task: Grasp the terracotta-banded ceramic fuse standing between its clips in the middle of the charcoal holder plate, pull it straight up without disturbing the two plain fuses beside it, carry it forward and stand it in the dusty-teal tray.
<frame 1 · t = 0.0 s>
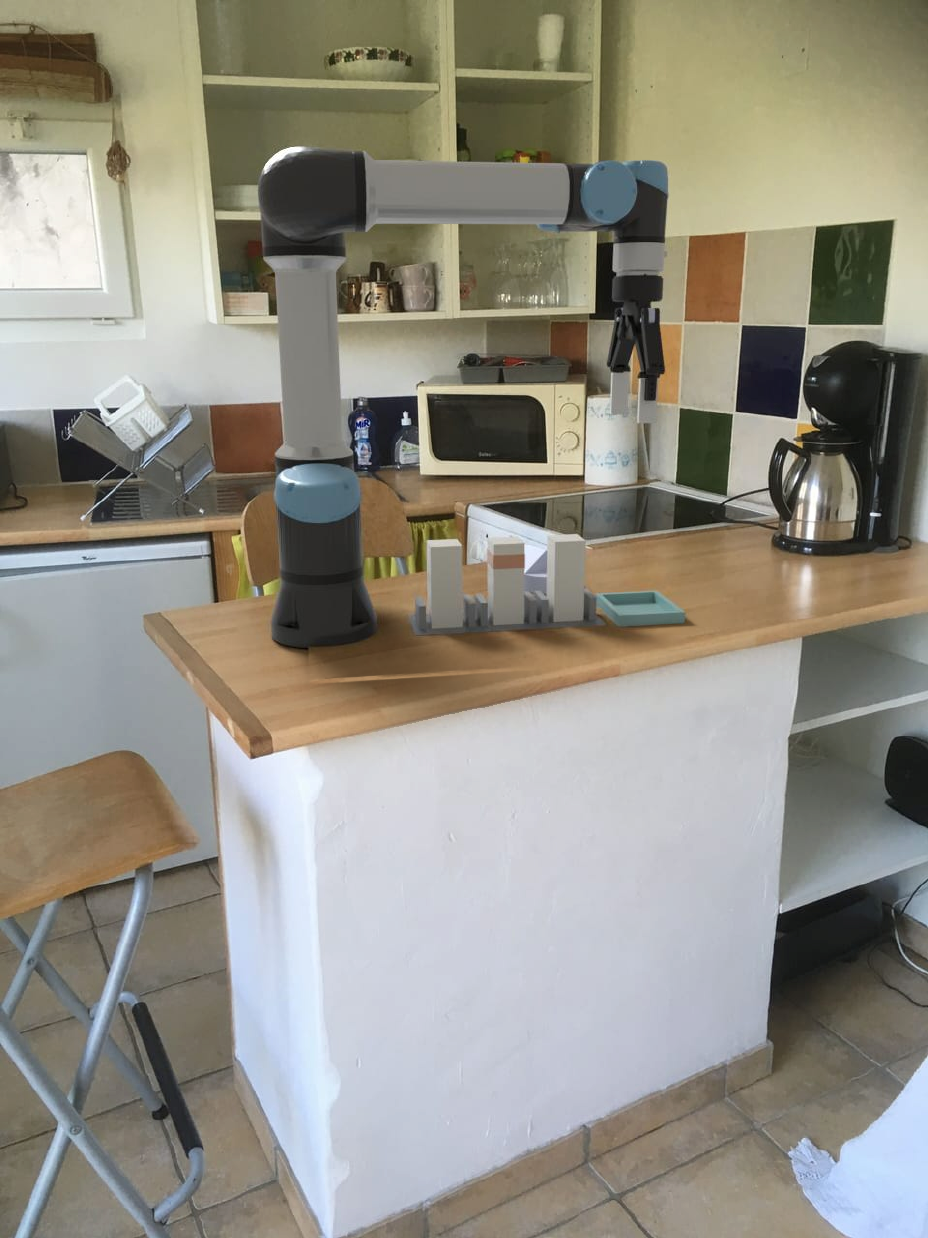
hand: (631, 418, 158), 28 cm above the countertop, fingers open, 13 cm apart
holder: (505, 623, 150), on the countertop
wedge on round base: (537, 588, 170), on the countertop
tray: (638, 615, 154), on the countertop
fuse C: (564, 616, 152), resting on holder
fuse A: (445, 623, 149), resting on holder
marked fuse: (505, 619, 150), resting on holder
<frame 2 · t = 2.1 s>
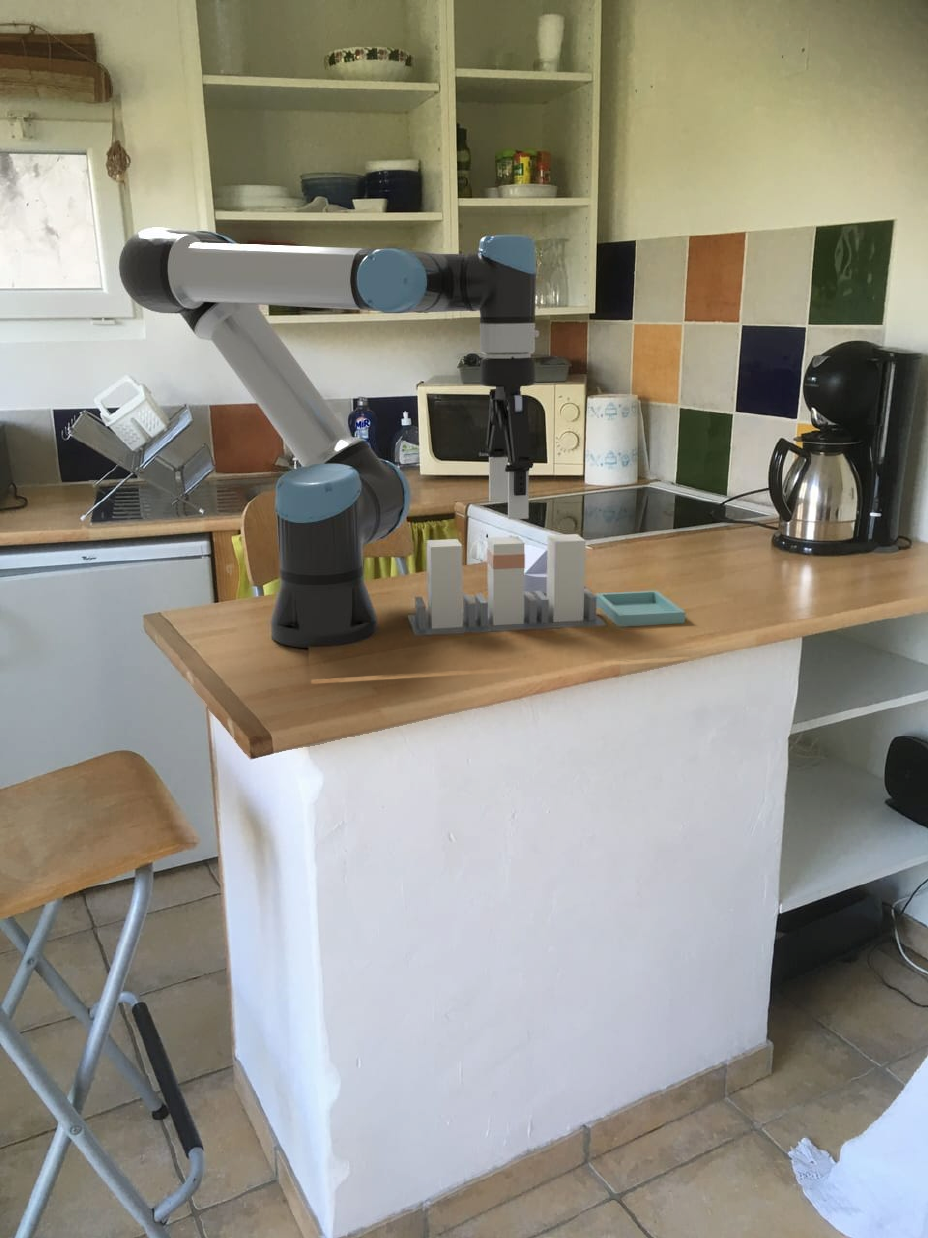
hand: (508, 509, 145), 17 cm above the countertop, fingers open, 13 cm apart
nothing on the countertop moved.
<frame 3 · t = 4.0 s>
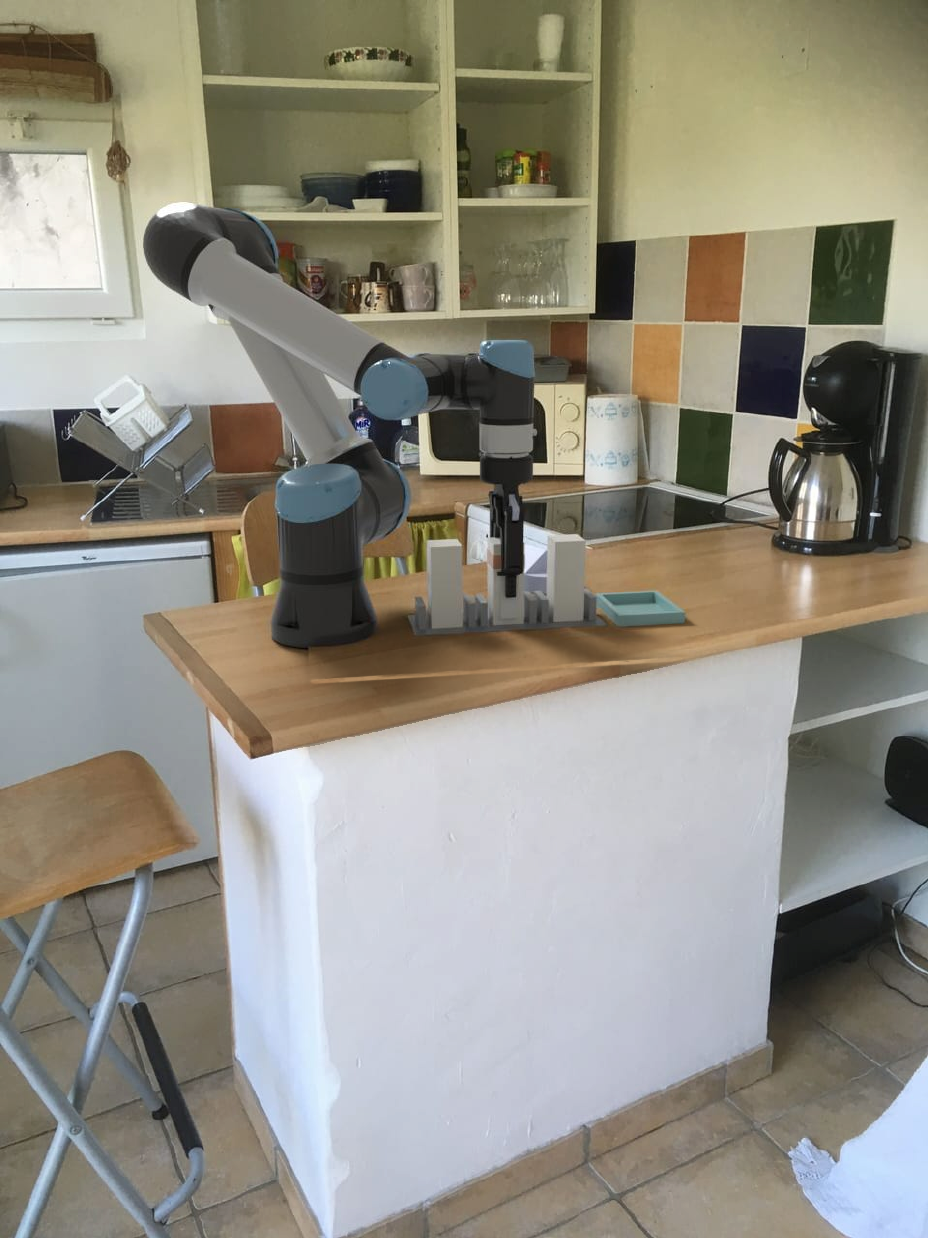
hand: (505, 612, 150), 2 cm above the countertop, fingers closed on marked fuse, 4 cm apart
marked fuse: (505, 619, 150), point 1 cm above the countertop, touching gripper, holder
everything else where it was.
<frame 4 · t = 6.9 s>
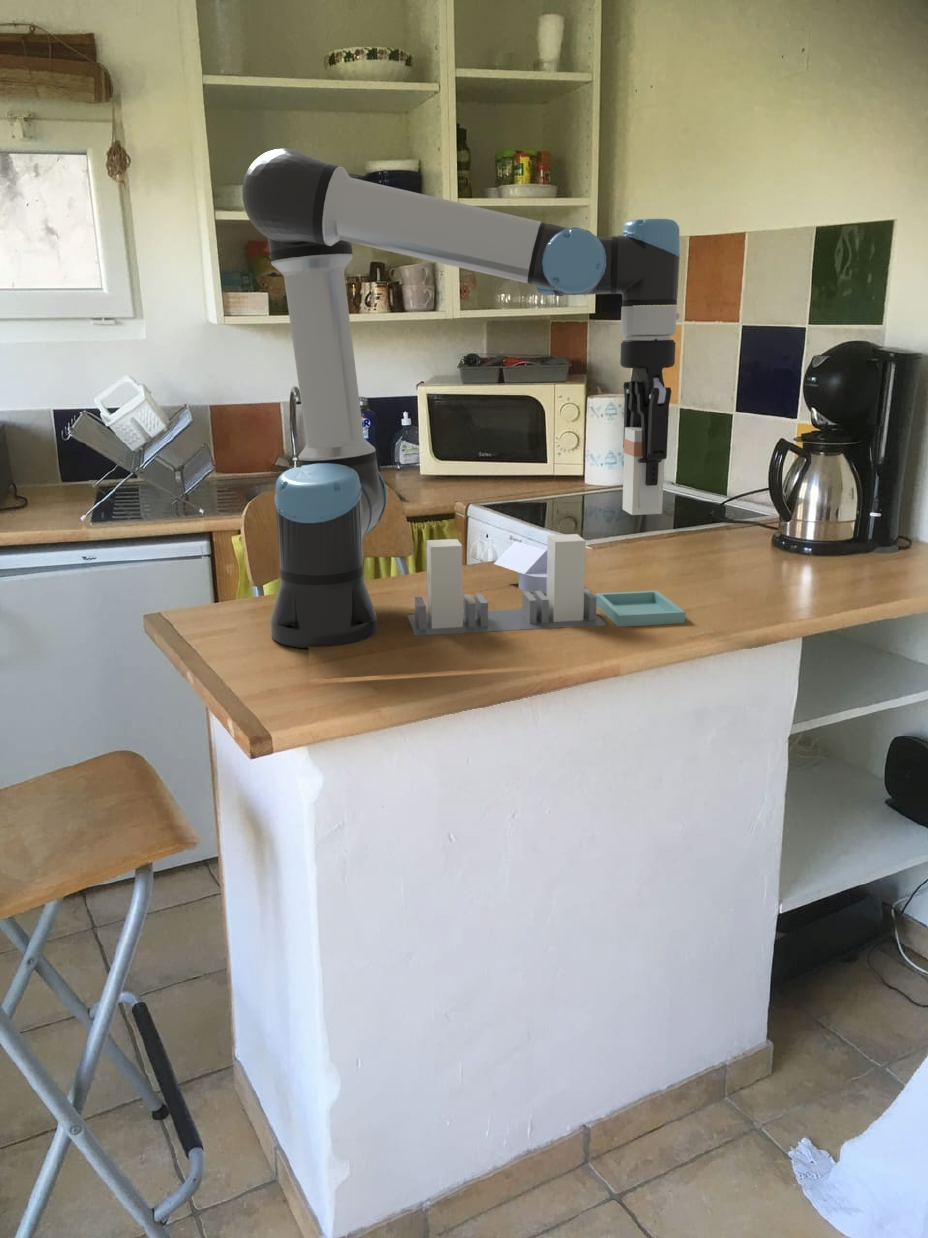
hand: (642, 503, 148), 17 cm above the countertop, fingers closed on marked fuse, 4 cm apart
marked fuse: (641, 511, 149), point 16 cm above the countertop, touching gripper
everything else where it was.
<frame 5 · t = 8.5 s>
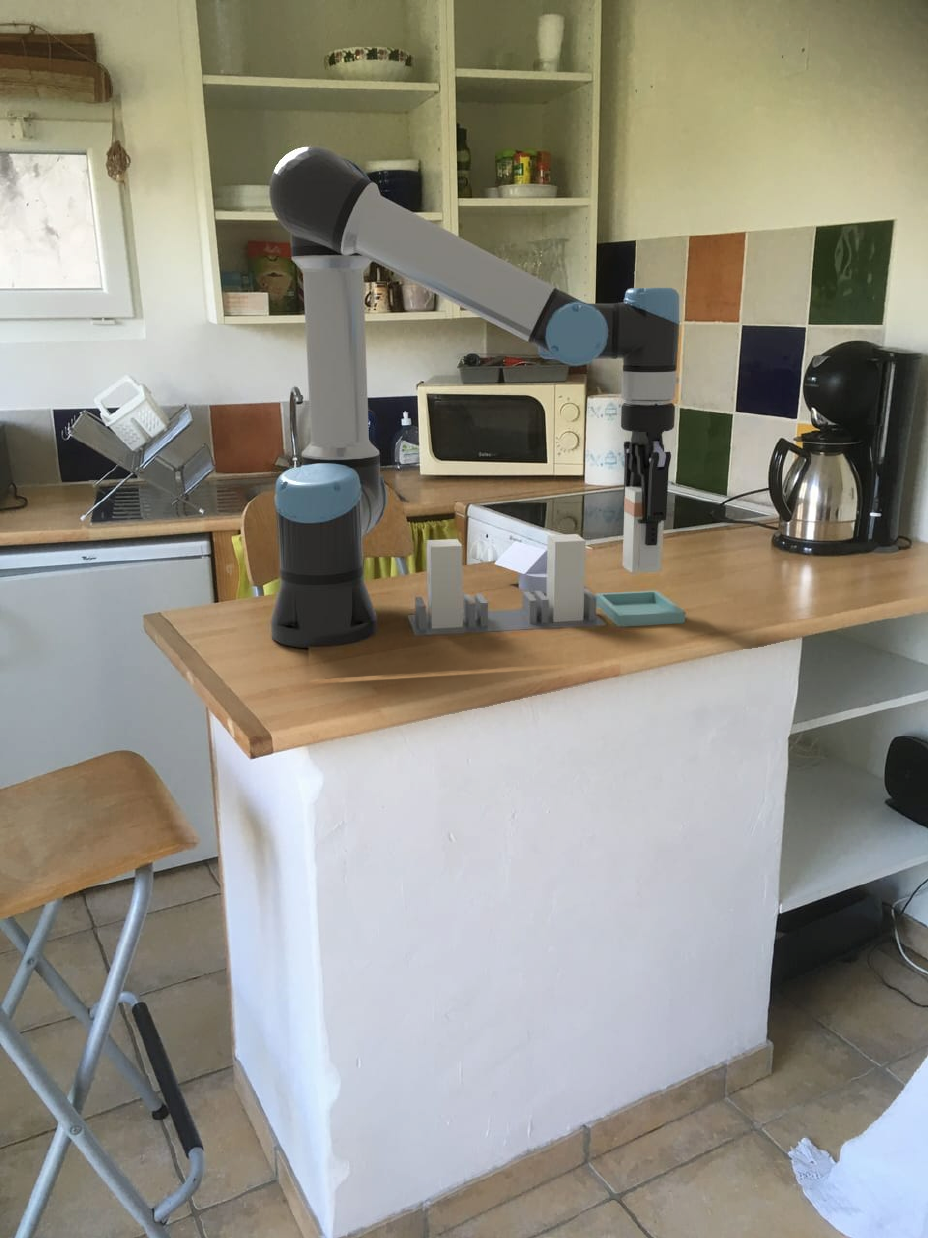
hand: (641, 561, 151), 8 cm above the countertop, fingers closed on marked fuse, 4 cm apart
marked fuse: (641, 568, 152), point 7 cm above the countertop, touching gripper
everything else where it was.
when the fingers open (4 cm above the countertop, at t = 9.7 s): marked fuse drops 2 cm, resting on tray.
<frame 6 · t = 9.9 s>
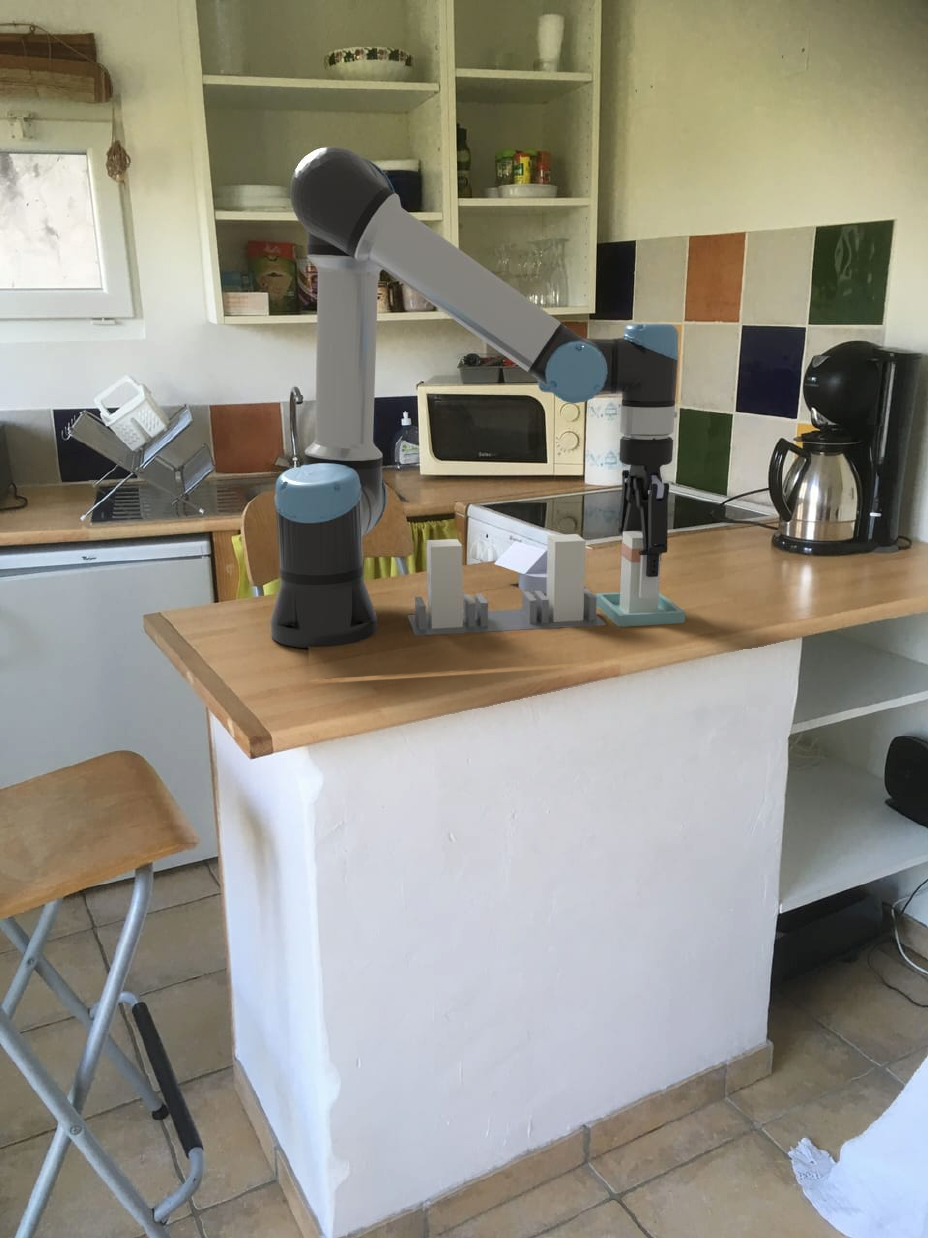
hand: (639, 589, 152), 4 cm above the countertop, fingers open, 7 cm apart
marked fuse: (638, 612, 153), point 1 cm above the countertop, touching tray
everything else where it was.
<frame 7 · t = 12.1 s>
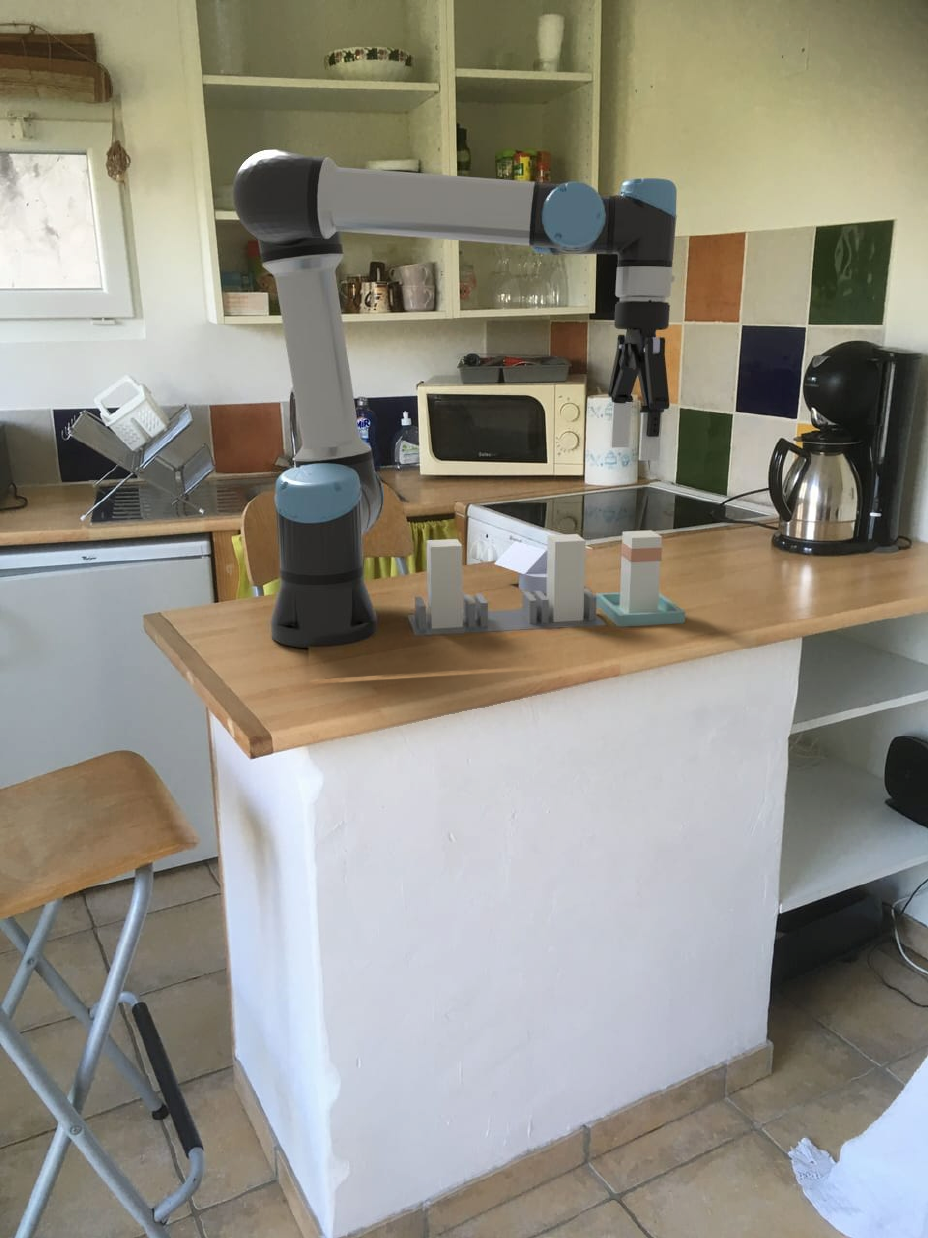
hand: (633, 453, 148), 24 cm above the countertop, fingers open, 13 cm apart
nothing on the countertop moved.
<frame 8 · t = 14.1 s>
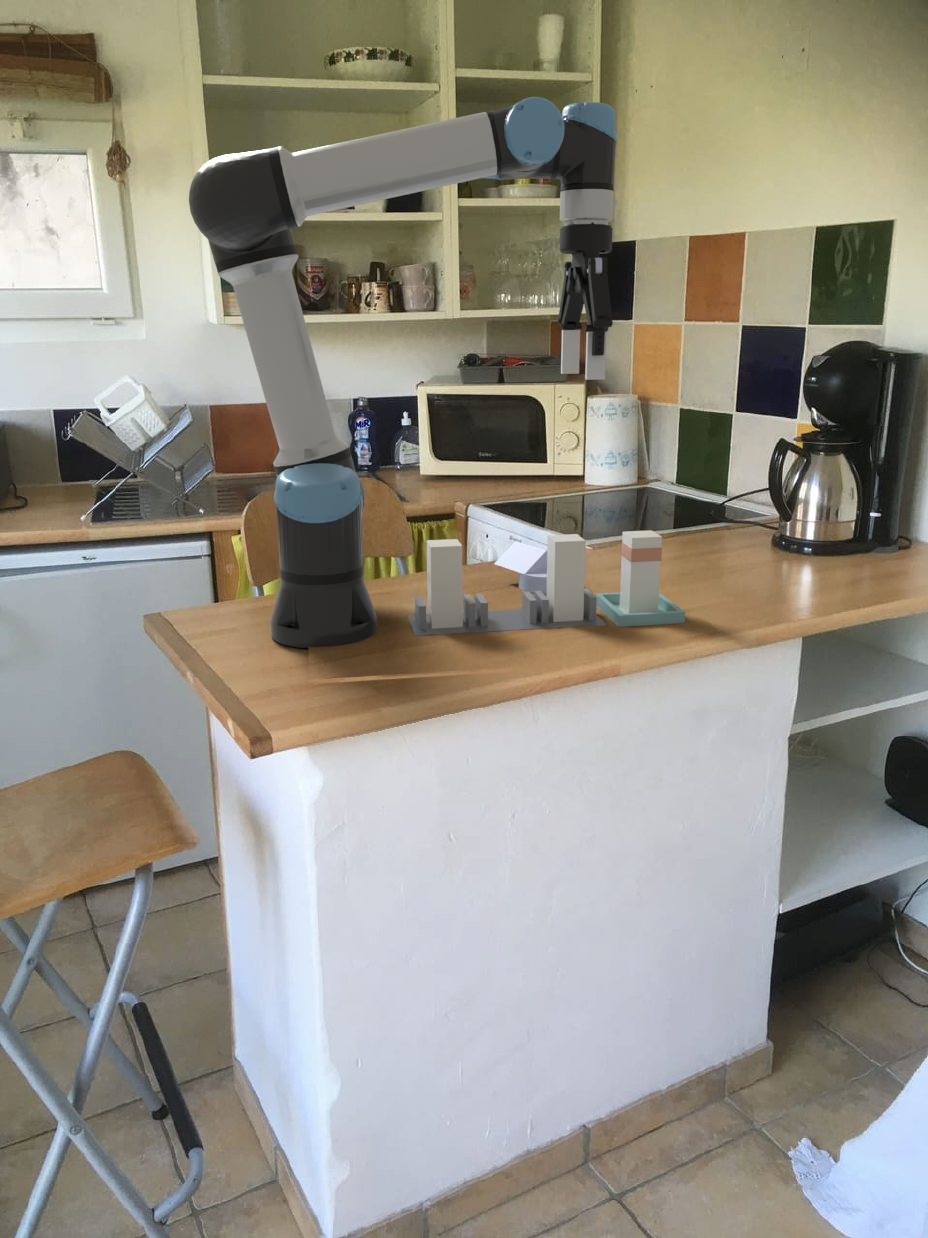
hand: (581, 376, 152), 35 cm above the countertop, fingers open, 13 cm apart
nothing on the countertop moved.
at the end: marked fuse inside the target area on the tray (0.0 cm from its centre), point 0.6 cm above the tray's base; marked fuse tilted 0°; fuse C moved 0.0 cm from its start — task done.
